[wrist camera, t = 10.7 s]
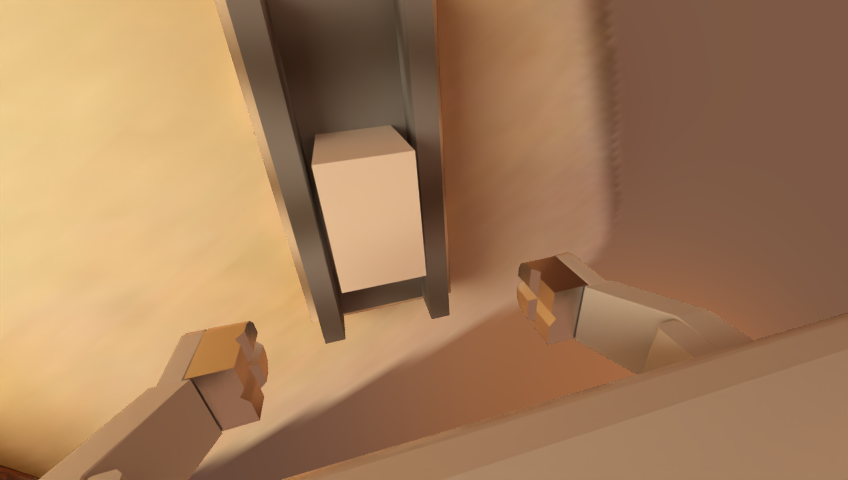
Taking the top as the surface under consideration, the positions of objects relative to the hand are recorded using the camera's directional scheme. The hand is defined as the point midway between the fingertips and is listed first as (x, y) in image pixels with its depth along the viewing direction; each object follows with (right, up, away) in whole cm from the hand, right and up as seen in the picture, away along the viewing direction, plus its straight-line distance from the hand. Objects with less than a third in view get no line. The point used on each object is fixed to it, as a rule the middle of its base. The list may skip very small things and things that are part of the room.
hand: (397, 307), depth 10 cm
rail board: (-3, +6, +12) cm, 14 cm away
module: (-3, +5, +10) cm, 12 cm away
